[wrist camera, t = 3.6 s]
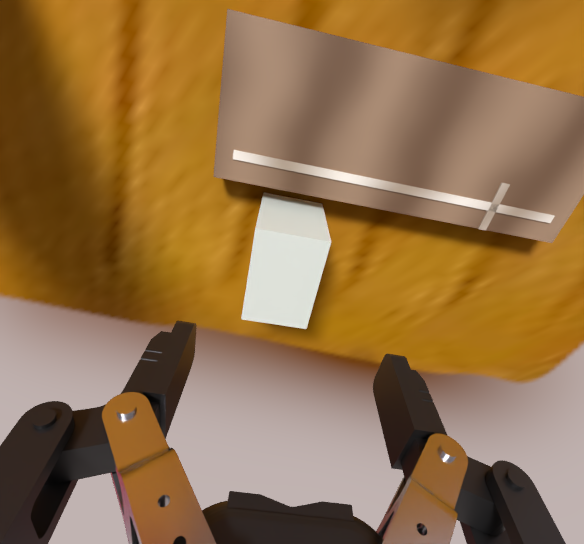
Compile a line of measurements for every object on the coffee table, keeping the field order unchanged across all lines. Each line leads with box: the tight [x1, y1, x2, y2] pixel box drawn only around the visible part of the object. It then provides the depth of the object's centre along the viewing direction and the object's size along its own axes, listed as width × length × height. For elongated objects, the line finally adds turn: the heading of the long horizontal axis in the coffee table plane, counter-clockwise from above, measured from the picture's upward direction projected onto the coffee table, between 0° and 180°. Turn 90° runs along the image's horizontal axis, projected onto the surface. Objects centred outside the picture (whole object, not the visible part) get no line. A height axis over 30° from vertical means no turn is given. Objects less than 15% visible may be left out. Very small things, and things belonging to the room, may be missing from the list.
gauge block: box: [241, 192, 331, 329], centre depth 22 cm, size 4×6×6 cm, turn 169°
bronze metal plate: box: [214, 9, 584, 243], centre depth 20 cm, size 22×8×2 cm, turn 79°
